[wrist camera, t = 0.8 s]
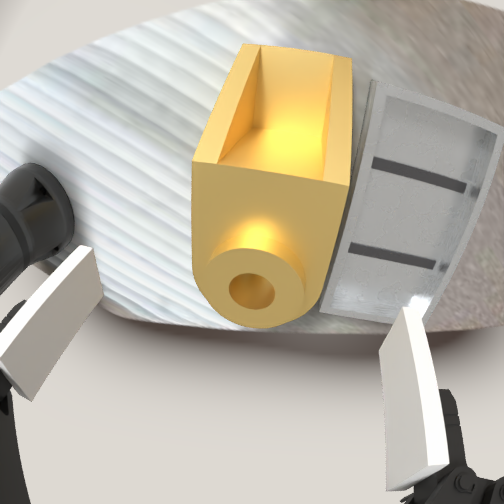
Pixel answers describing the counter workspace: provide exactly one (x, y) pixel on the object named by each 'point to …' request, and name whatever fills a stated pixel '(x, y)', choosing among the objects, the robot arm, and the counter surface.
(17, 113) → the counter surface
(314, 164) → the yellow mounting bracket
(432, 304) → the tray
